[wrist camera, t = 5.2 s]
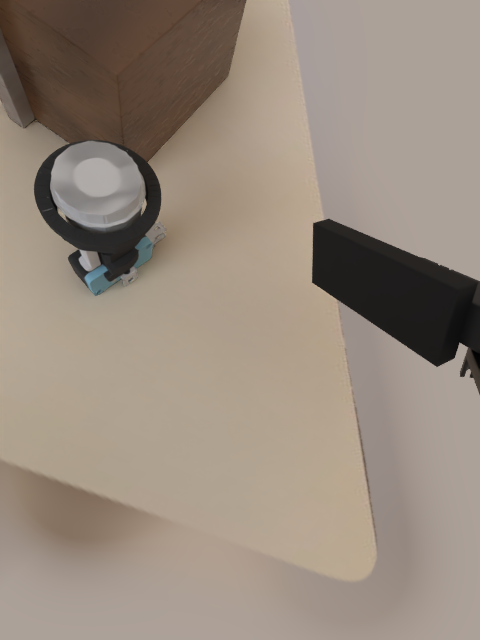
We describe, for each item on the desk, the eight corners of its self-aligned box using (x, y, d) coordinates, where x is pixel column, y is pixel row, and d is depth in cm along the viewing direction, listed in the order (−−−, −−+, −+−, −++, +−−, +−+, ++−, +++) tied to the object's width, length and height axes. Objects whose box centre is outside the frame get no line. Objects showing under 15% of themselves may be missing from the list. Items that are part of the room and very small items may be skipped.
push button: (139, 208, 26) (134, 93, 17) (186, 264, 26) (209, 179, 17) (56, 259, 24) (-3, 158, 14) (108, 320, 24) (82, 259, 14)
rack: (9, 118, 25) (-93, -100, 15) (148, 4, 31) (148, -217, 20) (117, 194, 26) (96, 37, 15) (235, 68, 31) (281, -112, 21)
